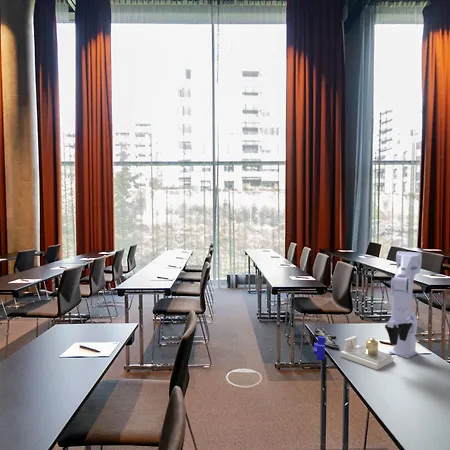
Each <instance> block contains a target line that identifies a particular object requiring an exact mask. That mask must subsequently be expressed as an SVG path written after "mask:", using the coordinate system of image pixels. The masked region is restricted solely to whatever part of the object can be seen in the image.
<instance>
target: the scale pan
mask: <svg viewBox="0 0 450 450" xmlns="http://www.w3.org/2000/svg"><path fill="white" fill-rule="evenodd" d="M359 346H360V347H358V348H355V349H353V350H350V351H349V353H351V354H354V355H356V356H359V357H362V358H365V359H368V360H371V361H374V362H377V363H381V362H383V361H385V360H387V359H389V358H391V357H392V354H389V353H385V352H382V351H380V350H378V355H376V356H371V355H368V354H366V346H364V345H359Z"/></svg>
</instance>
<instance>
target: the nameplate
mask: <svg viewBox="0 0 450 450" xmlns="http://www.w3.org/2000/svg"><path fill="white" fill-rule="evenodd" d="M314 332H315V333H313V336H314V337H316V338H318V336H321V337H325V348H327V349H329V350H334V351H340V346H339V345H338V344H336V341H335V340H336V339H337V336H336V335H331V334H330V333H329V331H327V330H326V329H325V328H324V327H320V329H319V328H315V330H314Z"/></svg>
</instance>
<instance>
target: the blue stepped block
mask: <svg viewBox="0 0 450 450" xmlns="http://www.w3.org/2000/svg"><path fill="white" fill-rule="evenodd" d="M325 353H326V347H325V337H321V336H318V337H317V342H314V343H313V355H316V360H317V361H324V362H325V355H326V354H325Z"/></svg>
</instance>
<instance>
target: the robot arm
mask: <svg viewBox="0 0 450 450" xmlns="http://www.w3.org/2000/svg"><path fill="white" fill-rule="evenodd" d="M422 255H423V254H422V253H421V252H413V251H401V250H398V251H396V255H395V264H396V271H395V275H394V277H391V281H390V290H391V294H390V295H391V310H390V311H391V313H390V314H391V315H390V316H391V317H390V318H389V319H388V321H387V322H386V324H384V328H385V330H386V332H387V335H388V338H389V343H390V344H391V345H392V346H393V349H391V350H389V353H390V354H393V355H396V356H400V357H402V358H406V359H409V358H410V357H412V356H415V355H417V354H418V353H419V352H418V351H416V344H417V337H416V334H417V330H418V316H417V315H416V314H415V313H414V312H413V311H412V302H413V301H412V300H413V290H414V289H413V288H414V279H415V276H416V275H417V274H419V273H420V272H421V270H422V261H423V260H422V258H423V256H422Z"/></svg>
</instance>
